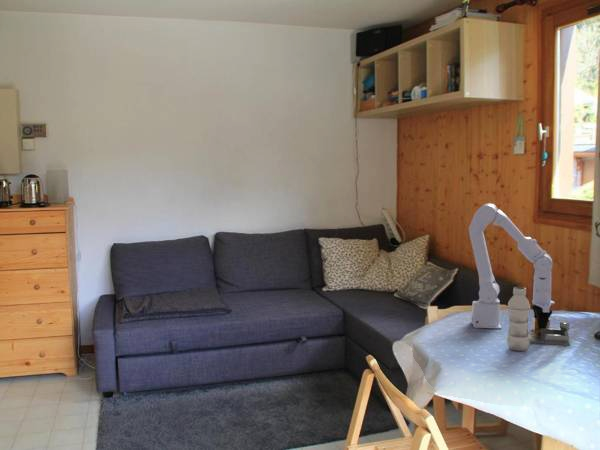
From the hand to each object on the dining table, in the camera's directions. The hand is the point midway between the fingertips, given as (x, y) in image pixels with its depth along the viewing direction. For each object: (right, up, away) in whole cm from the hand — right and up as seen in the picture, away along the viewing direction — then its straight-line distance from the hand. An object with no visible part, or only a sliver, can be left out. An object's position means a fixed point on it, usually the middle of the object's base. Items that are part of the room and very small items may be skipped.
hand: (540, 327), depth 198 cm
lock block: (0, -2, 0) cm, 2 cm away
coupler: (-1, -3, -9) cm, 9 cm away
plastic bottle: (-15, -4, -18) cm, 24 cm away
